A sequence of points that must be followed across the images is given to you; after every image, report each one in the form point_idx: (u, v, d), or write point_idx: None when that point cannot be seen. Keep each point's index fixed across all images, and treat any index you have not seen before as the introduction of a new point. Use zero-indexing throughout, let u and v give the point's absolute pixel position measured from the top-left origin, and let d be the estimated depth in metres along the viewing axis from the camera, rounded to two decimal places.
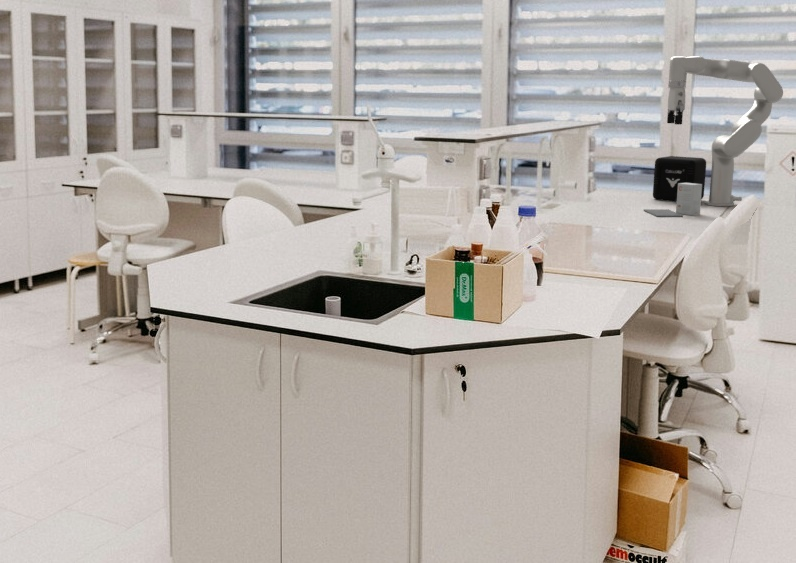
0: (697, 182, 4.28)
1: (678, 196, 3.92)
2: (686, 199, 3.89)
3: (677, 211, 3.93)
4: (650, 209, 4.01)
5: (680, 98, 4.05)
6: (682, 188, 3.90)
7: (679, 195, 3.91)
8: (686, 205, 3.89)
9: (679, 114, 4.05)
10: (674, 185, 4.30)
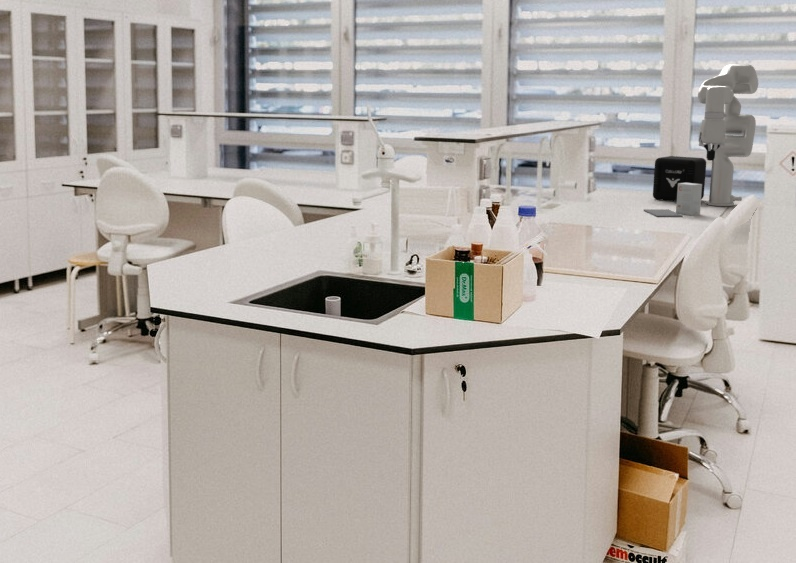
0: (697, 182, 4.28)
1: (678, 196, 3.92)
2: (686, 199, 3.89)
3: (677, 211, 3.93)
4: (650, 209, 4.01)
5: None
6: (682, 188, 3.90)
7: (679, 195, 3.91)
8: (686, 205, 3.89)
9: (714, 151, 3.87)
10: (674, 185, 4.30)
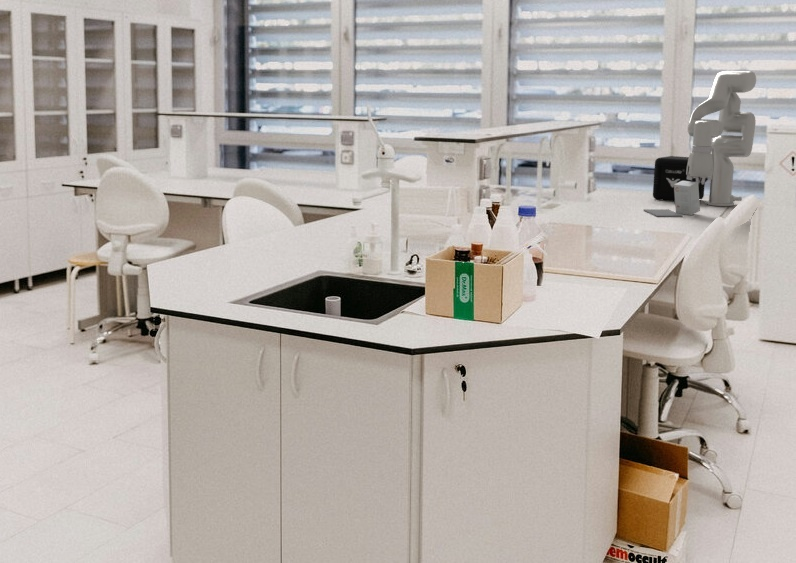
0: None
1: (676, 197, 3.91)
2: (684, 200, 3.88)
3: (677, 211, 3.93)
4: (650, 209, 4.01)
5: None
6: (678, 189, 3.88)
7: (677, 195, 3.90)
8: (684, 205, 3.89)
9: None
10: None
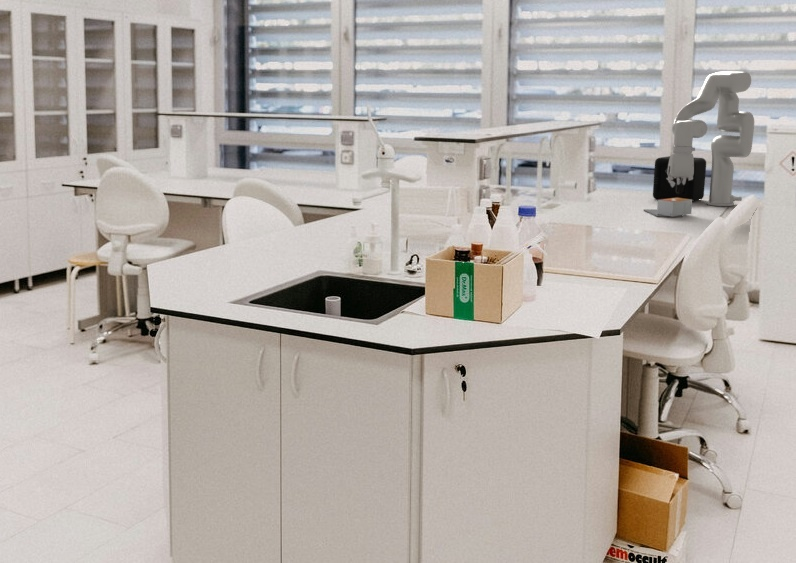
0: (697, 182, 4.28)
1: None
2: None
3: None
4: (650, 209, 4.01)
5: None
6: None
7: None
8: None
9: (683, 184, 3.90)
10: (674, 185, 4.30)
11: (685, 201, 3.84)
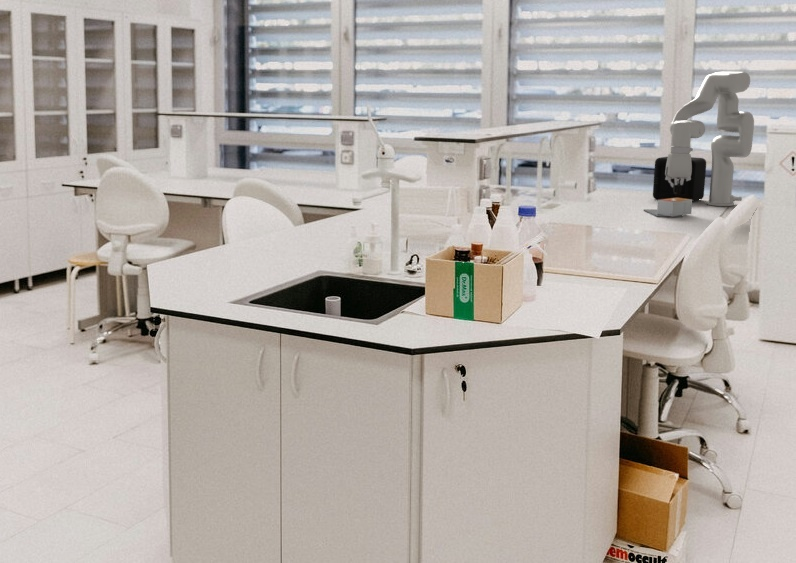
0: (697, 182, 4.28)
1: None
2: None
3: None
4: (650, 209, 4.01)
5: None
6: None
7: None
8: None
9: None
10: None
11: (685, 201, 3.84)
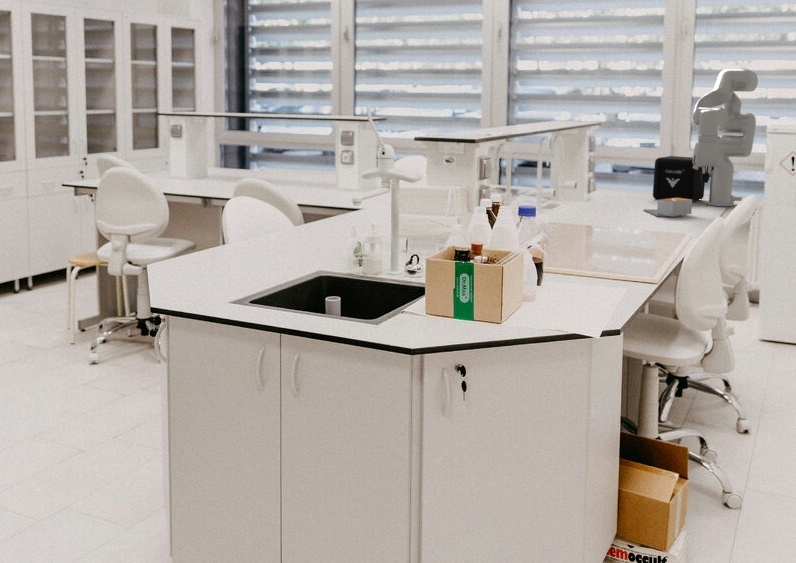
0: (697, 182, 4.28)
1: None
2: None
3: None
4: (650, 209, 4.01)
5: None
6: None
7: None
8: None
9: None
10: (674, 185, 4.30)
11: (685, 201, 3.84)
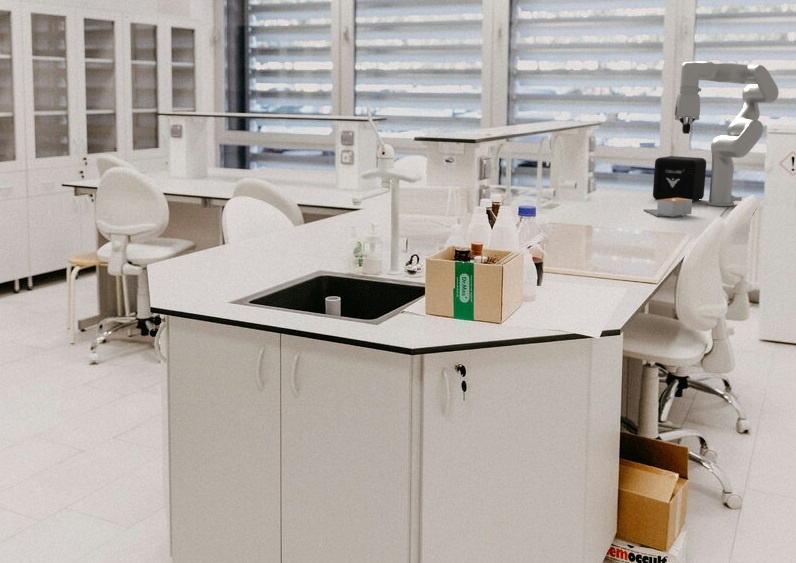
0: (697, 182, 4.28)
1: None
2: None
3: None
4: (650, 209, 4.01)
5: None
6: None
7: None
8: None
9: None
10: (674, 185, 4.30)
11: (685, 201, 3.84)
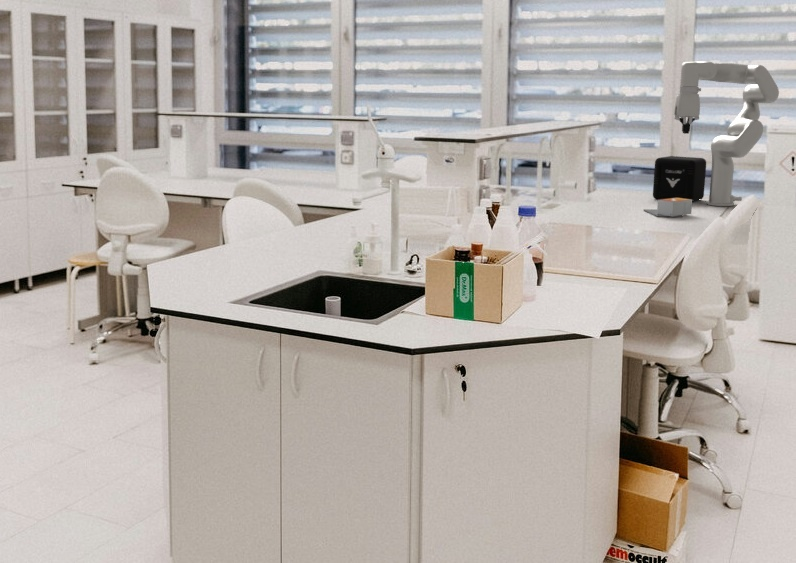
0: (697, 182, 4.28)
1: None
2: None
3: None
4: (650, 209, 4.01)
5: None
6: None
7: None
8: None
9: (689, 124, 4.02)
10: (674, 185, 4.30)
11: (685, 201, 3.84)
